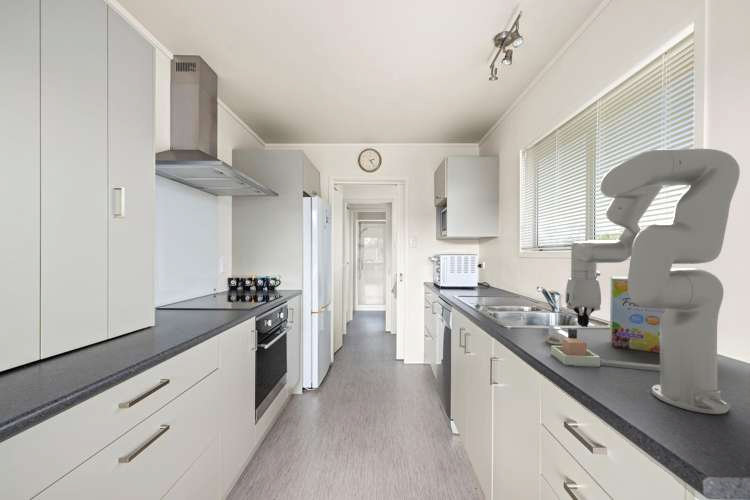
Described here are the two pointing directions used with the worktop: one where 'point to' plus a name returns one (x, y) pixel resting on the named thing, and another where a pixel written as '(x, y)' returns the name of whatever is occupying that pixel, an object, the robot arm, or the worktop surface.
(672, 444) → the worktop surface
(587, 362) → the tray
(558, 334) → the crank
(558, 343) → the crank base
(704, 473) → the worktop surface
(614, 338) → the snack box
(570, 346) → the block
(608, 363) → the adjustable wrench
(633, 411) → the worktop surface
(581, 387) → the worktop surface
